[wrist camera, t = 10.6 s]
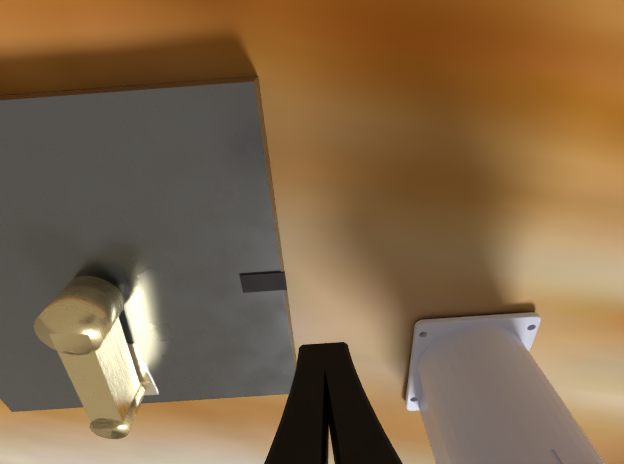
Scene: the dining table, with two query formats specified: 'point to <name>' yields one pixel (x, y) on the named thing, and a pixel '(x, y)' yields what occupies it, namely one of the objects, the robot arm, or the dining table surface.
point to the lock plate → (145, 237)
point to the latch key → (94, 352)
